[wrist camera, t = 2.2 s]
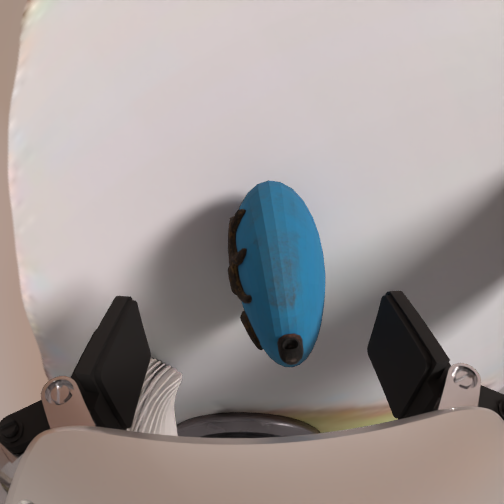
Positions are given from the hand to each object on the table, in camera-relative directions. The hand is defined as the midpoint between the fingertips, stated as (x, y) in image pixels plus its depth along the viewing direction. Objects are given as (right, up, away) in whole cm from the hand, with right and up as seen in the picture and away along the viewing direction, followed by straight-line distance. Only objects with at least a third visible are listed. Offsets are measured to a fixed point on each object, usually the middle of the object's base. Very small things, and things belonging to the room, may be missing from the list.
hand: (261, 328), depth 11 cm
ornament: (+1, +4, +7) cm, 8 cm away
